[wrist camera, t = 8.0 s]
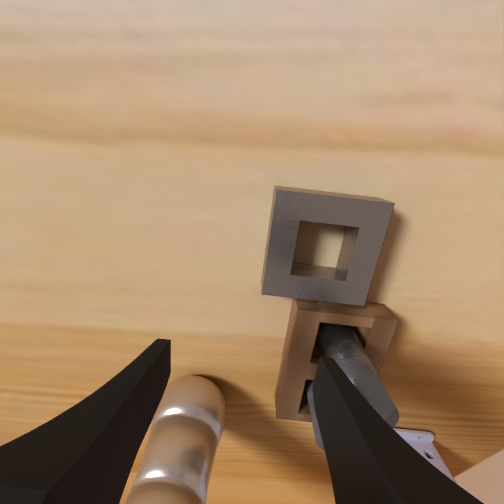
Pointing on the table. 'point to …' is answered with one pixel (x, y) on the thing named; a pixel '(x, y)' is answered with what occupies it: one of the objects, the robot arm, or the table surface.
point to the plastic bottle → (181, 444)
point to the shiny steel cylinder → (357, 367)
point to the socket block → (352, 251)
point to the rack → (308, 355)
